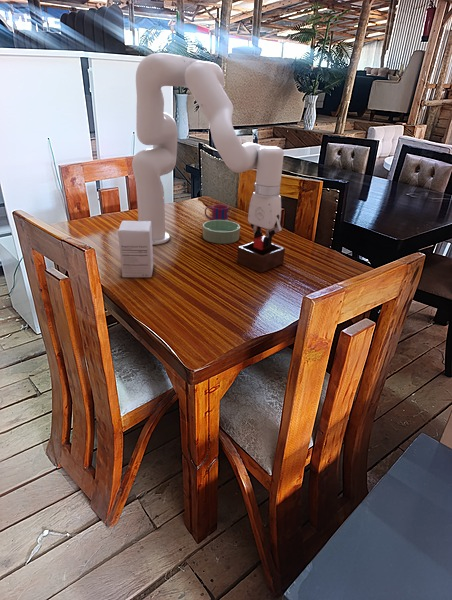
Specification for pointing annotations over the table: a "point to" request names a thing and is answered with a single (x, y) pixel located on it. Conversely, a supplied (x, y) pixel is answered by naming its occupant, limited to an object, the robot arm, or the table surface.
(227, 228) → the bowl
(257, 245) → the red small block
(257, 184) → the robot arm
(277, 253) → the box
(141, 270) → the white product box
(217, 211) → the mug
